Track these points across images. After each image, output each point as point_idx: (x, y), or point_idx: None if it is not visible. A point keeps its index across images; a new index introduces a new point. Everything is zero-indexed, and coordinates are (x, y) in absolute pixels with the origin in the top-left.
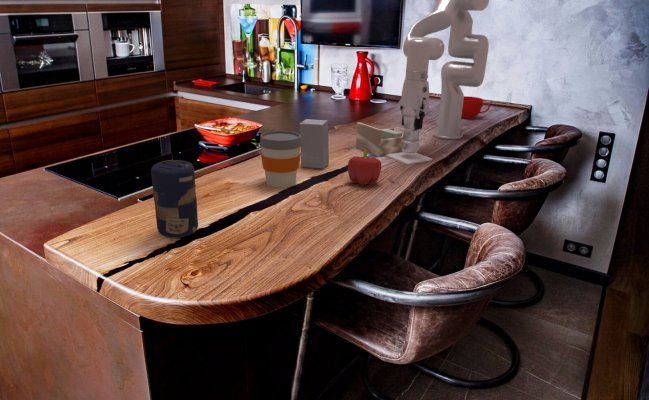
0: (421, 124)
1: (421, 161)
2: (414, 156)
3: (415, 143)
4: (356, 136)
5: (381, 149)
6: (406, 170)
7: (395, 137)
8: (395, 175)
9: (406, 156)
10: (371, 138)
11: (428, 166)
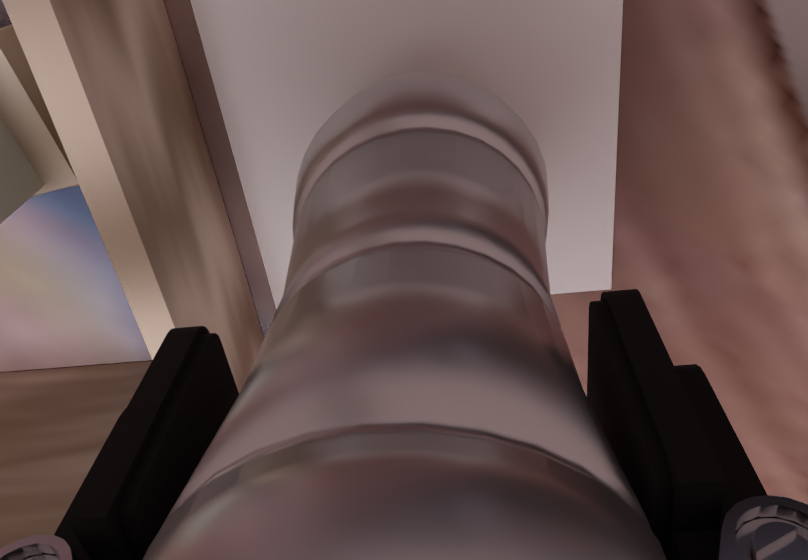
0: (711, 416)
1: (615, 97)
2: None
3: (545, 230)
4: None
5: None
6: (729, 365)
7: (21, 202)
8: (766, 482)
9: None
10: None
11: (775, 113)
